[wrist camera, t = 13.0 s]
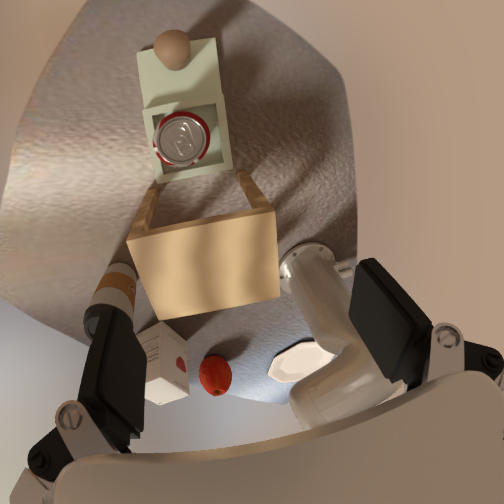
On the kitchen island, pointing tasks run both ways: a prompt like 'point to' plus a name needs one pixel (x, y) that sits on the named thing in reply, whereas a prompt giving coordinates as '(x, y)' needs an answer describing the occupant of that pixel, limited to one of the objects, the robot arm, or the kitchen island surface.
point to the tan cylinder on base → (184, 98)
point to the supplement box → (164, 364)
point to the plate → (299, 362)
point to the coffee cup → (112, 296)
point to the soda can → (181, 139)
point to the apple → (215, 375)
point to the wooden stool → (207, 257)
